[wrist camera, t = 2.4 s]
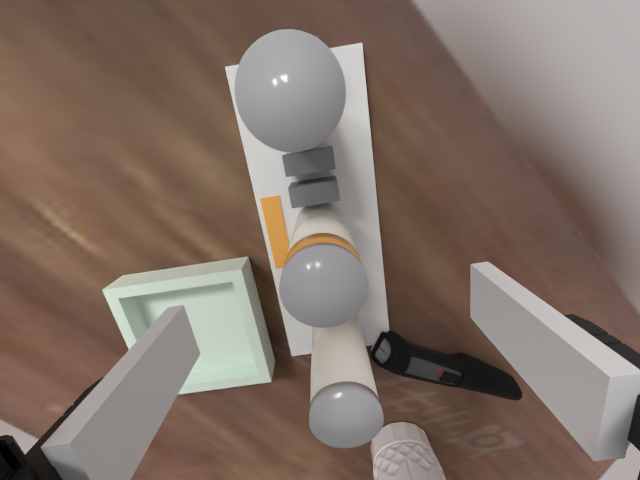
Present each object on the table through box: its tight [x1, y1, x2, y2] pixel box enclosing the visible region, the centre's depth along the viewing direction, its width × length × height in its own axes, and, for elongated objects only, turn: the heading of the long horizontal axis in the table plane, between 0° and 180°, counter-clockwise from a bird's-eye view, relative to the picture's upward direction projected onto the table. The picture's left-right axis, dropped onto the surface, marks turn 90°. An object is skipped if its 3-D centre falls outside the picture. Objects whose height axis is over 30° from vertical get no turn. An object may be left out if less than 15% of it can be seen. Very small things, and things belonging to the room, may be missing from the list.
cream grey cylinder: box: [234, 29, 346, 152], centre depth 17 cm, size 4×4×11 cm
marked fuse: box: [279, 203, 369, 328], centre depth 20 cm, size 4×4×11 cm
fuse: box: [309, 314, 384, 448], centre depth 23 cm, size 4×4×11 cm
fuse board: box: [225, 35, 389, 356], centre depth 24 cm, size 26×10×4 cm, turn 9°
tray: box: [102, 256, 275, 394], centre depth 28 cm, size 12×12×3 cm
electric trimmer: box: [371, 331, 522, 400], centre depth 29 cm, size 4×16×3 cm, turn 68°
